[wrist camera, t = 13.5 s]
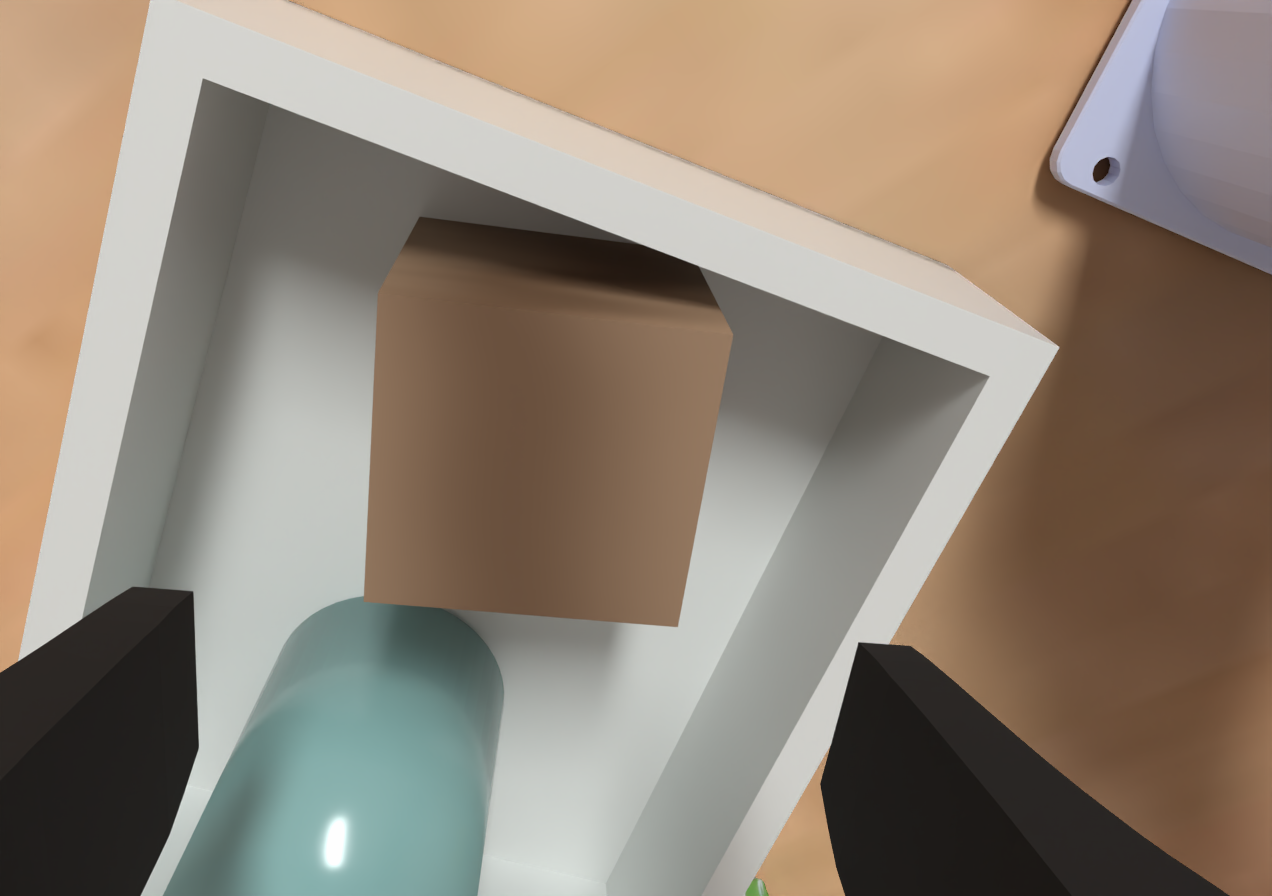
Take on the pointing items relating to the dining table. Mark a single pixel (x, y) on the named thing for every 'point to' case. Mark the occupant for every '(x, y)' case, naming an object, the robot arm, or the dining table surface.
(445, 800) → the teal canister
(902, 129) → the dining table surface
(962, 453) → the grey tote
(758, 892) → the syrup box
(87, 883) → the robot arm
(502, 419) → the walnut cube
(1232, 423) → the dining table surface
